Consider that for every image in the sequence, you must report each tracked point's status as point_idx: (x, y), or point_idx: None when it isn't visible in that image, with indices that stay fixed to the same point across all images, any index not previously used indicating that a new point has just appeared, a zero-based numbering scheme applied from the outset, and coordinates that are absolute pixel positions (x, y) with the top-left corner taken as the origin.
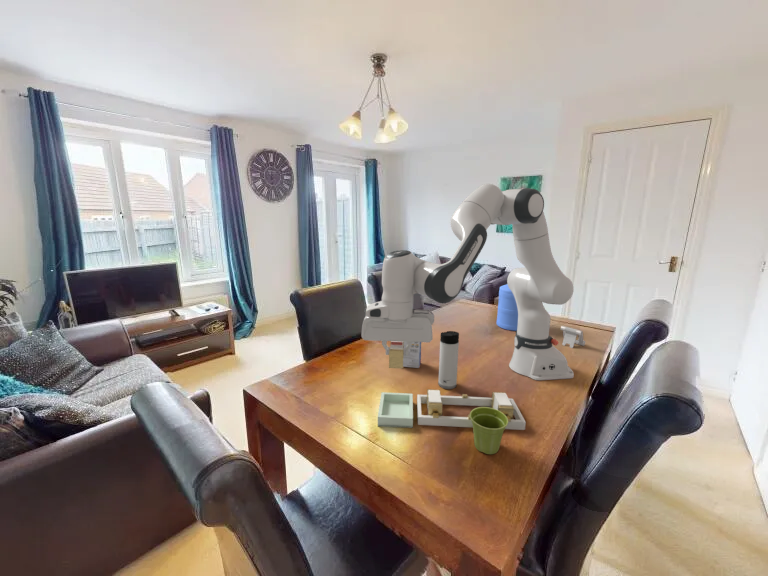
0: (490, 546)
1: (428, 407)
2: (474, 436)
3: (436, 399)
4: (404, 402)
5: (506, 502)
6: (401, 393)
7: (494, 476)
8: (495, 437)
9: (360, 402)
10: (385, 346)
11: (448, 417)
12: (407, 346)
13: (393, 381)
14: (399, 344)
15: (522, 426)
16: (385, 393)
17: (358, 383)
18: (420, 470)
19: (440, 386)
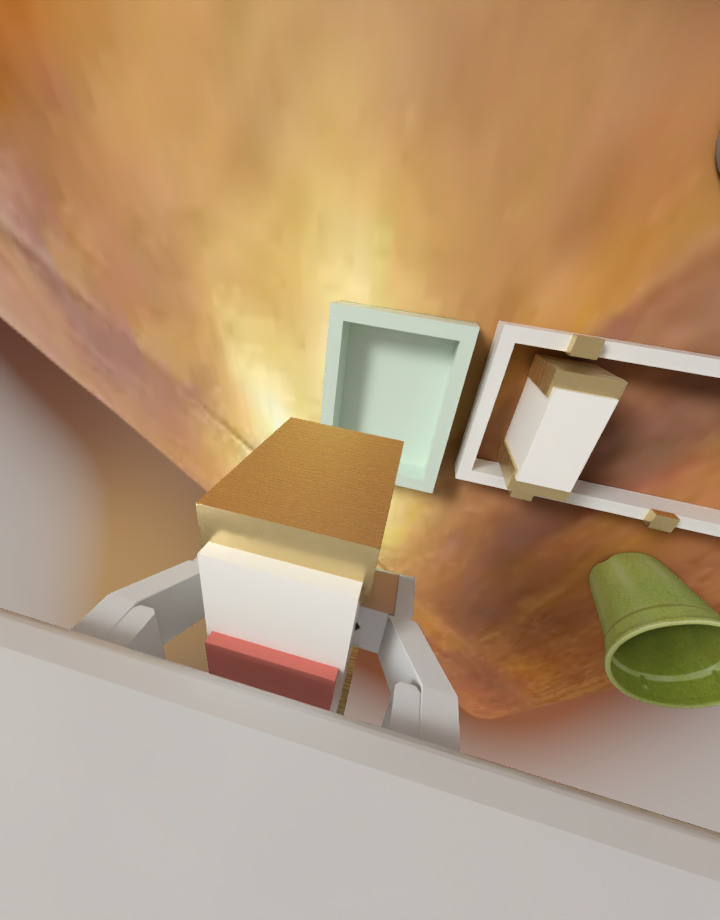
0: (480, 708)
1: (507, 470)
2: (598, 599)
3: (557, 471)
4: (435, 338)
5: (555, 679)
6: (424, 321)
7: (574, 641)
8: (648, 661)
9: (259, 307)
10: (177, 631)
11: (569, 498)
12: (395, 683)
13: (421, 67)
14: (300, 694)
15: None
16: (348, 315)
17: (221, 104)
18: (415, 595)
19: (716, 158)
